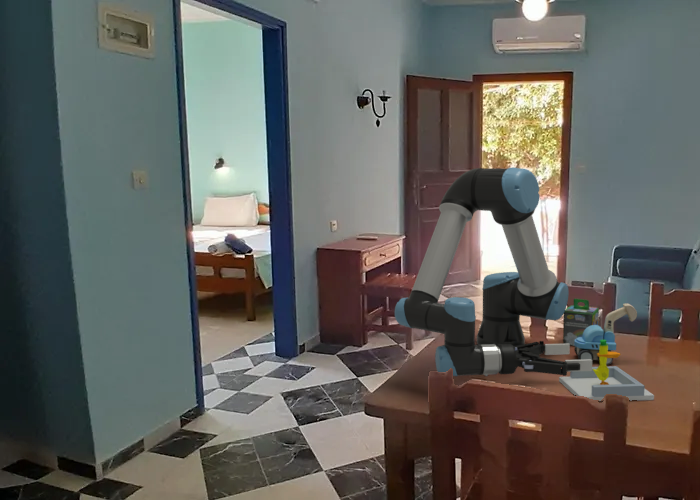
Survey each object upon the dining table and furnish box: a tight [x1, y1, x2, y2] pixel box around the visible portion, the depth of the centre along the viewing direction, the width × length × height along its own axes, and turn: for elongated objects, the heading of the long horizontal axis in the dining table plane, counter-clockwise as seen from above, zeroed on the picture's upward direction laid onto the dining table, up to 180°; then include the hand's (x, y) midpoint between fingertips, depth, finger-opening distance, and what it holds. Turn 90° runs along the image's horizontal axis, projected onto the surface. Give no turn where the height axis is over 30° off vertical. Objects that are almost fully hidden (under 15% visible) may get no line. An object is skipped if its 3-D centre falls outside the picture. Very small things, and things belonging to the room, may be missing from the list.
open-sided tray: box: [558, 365, 655, 402], centre depth 161 cm, size 18×15×4 cm
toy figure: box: [593, 340, 621, 385], centre depth 160 cm, size 7×4×12 cm, turn 85°
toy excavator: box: [574, 303, 638, 366], centre depth 184 cm, size 9×17×17 cm, turn 78°
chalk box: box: [562, 298, 600, 347], centre depth 202 cm, size 9×9×15 cm
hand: (580, 356), depth 160 cm, fingers open, 13 cm apart
